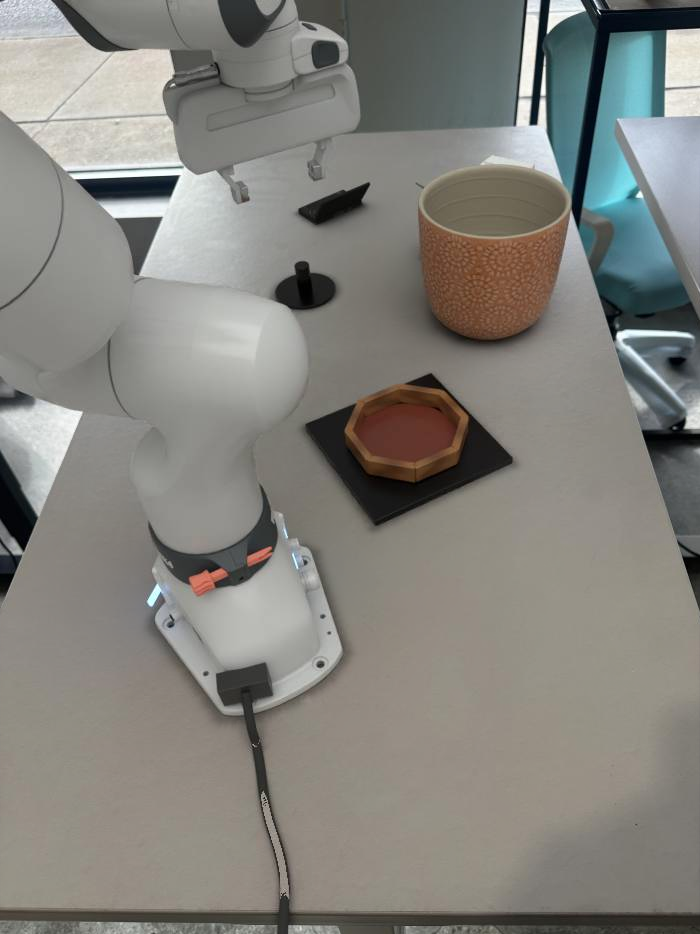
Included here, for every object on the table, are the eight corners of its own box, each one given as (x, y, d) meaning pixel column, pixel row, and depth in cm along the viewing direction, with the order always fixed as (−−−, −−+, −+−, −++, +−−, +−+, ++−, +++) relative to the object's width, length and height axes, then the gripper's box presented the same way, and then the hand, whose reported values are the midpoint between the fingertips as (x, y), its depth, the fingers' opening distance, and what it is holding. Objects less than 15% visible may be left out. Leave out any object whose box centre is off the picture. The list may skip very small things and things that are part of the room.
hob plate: (512, 463, 93) (513, 456, 92) (375, 526, 88) (375, 520, 87) (431, 378, 105) (431, 371, 104) (305, 429, 99) (304, 422, 99)
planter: (398, 339, 111) (393, 221, 97) (449, 269, 123) (451, 154, 108) (529, 372, 105) (545, 250, 90) (570, 294, 116) (590, 176, 102)
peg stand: (346, 296, 119) (343, 269, 115) (290, 316, 117) (285, 289, 113) (319, 268, 125) (316, 242, 121) (266, 287, 122) (260, 260, 119)
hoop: (487, 450, 93) (488, 436, 91) (384, 496, 89) (383, 482, 87) (426, 386, 102) (426, 372, 100) (330, 425, 98) (328, 411, 96)
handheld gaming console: (334, 182, 141) (349, 151, 132) (359, 211, 143) (376, 183, 133) (292, 214, 138) (305, 185, 128) (319, 243, 139) (333, 217, 129)
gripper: (167, 87, 68) (203, 227, 78) (362, 39, 73) (371, 176, 84) (147, 67, 71) (184, 203, 82) (334, 22, 77) (346, 155, 87)
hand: (280, 189), depth 83 cm, fingers open, 8 cm apart
